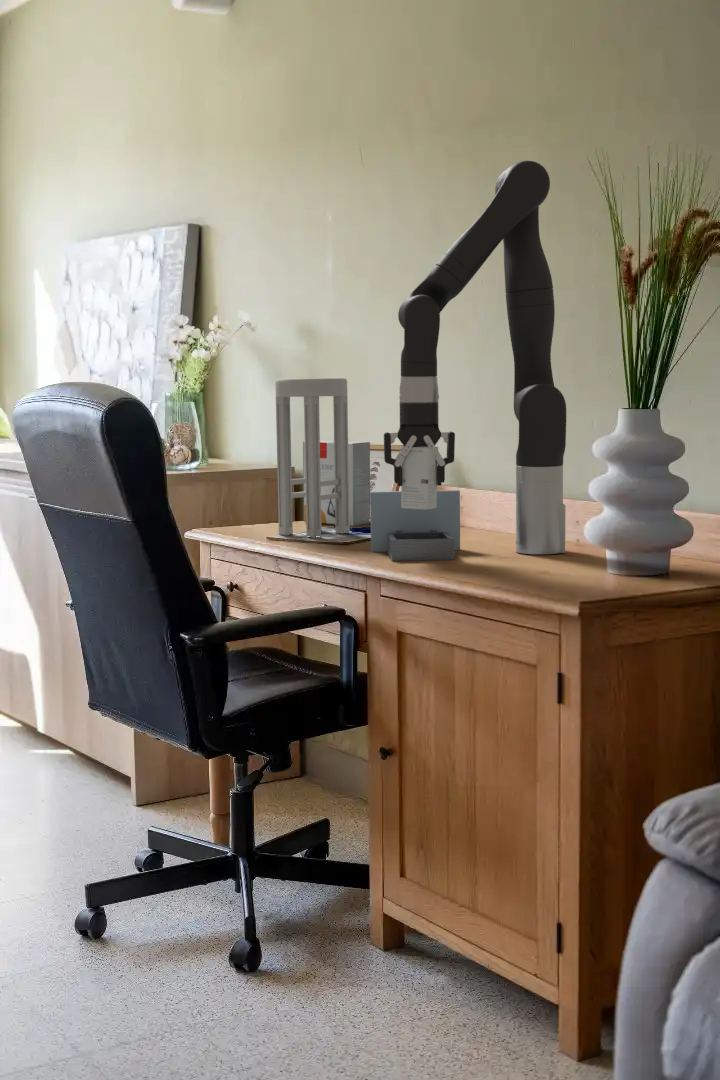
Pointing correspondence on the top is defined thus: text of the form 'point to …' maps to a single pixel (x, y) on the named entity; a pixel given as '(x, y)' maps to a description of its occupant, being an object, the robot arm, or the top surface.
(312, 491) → the stool
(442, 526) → the backboard
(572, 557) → the top surface
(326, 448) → the hard drive box
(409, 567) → the top surface
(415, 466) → the skincare box
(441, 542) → the grey open tray
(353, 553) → the top surface
